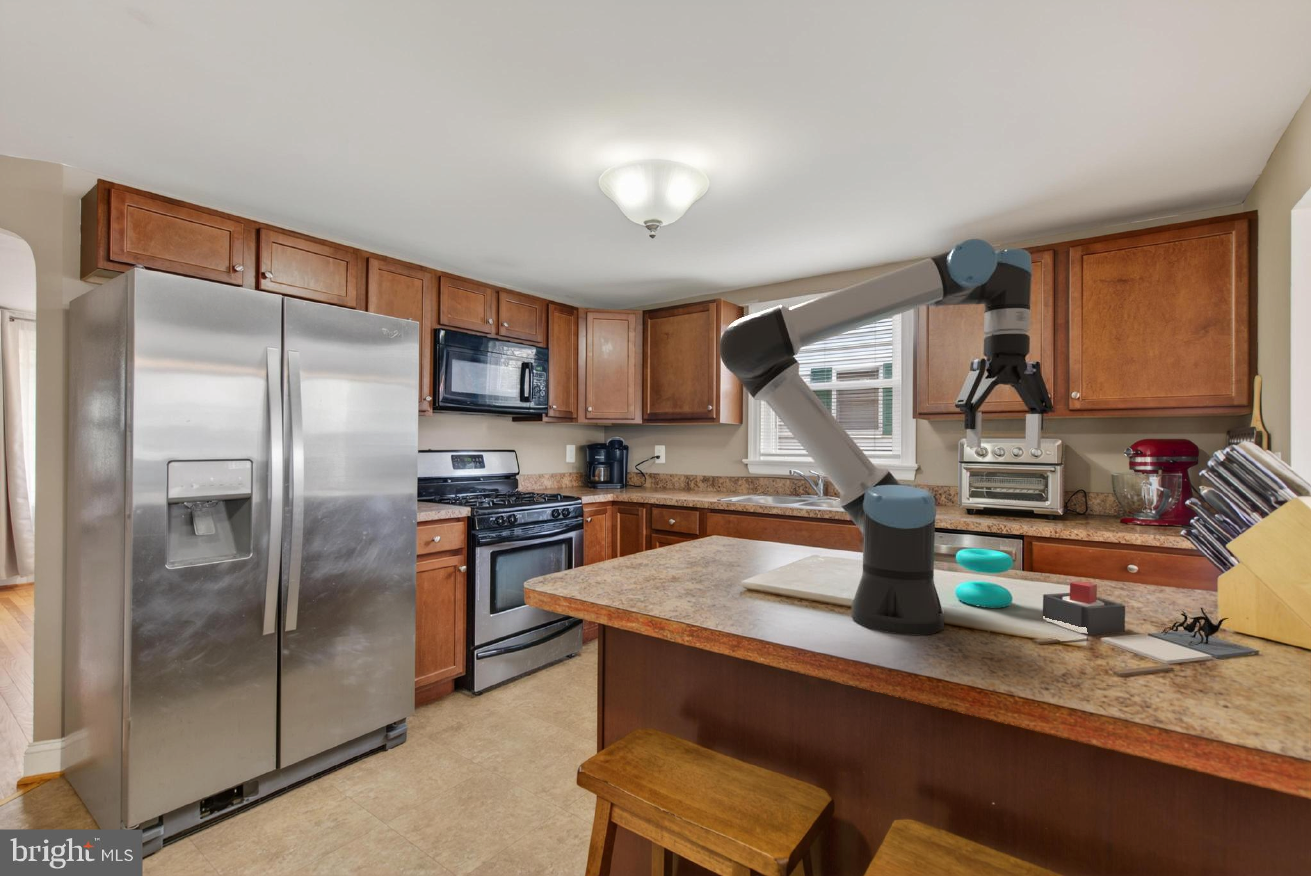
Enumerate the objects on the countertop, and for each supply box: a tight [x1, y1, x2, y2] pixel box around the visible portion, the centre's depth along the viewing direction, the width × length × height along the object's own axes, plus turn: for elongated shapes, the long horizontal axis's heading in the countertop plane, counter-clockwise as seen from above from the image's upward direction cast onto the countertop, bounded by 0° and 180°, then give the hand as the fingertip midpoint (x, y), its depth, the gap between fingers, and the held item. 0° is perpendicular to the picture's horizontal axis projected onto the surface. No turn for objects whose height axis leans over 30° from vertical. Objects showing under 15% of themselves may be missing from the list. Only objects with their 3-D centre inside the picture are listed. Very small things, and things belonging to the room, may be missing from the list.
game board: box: [1032, 592, 1260, 677], centre depth 100 cm, size 30×23×4 cm
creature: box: [1161, 606, 1229, 646], centre depth 99 cm, size 8×5×8 cm
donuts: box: [954, 548, 1014, 608], centre depth 121 cm, size 10×10×10 cm
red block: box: [1062, 580, 1104, 607], centre depth 107 cm, size 6×6×6 cm
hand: (1003, 448), depth 115 cm, fingers open, 13 cm apart
